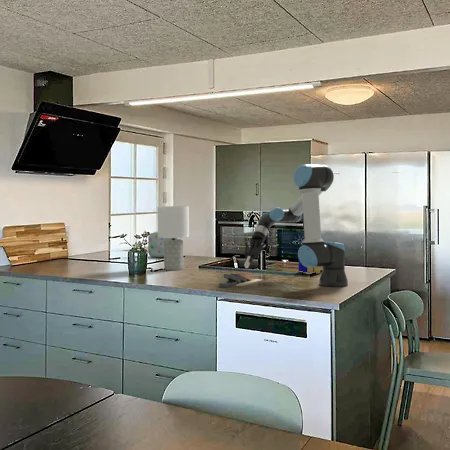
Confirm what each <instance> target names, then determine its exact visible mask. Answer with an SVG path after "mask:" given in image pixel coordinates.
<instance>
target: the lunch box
mask: <svg viewBox="0 0 450 450" xmlns="http://www.w3.org/2000/svg"><path fill="white" fill-rule="evenodd" d="M150 234H151V235H150V236H149V235H148V241H147V242H148V243H147V246H148V247H147V248H148V251H147V252H148V255H149V257H152V258H163V259H164V241H165V240H169V239H172V238H159V237H158V231H154V232H151V233H150ZM175 239H180V240H182V238H175Z"/></svg>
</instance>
